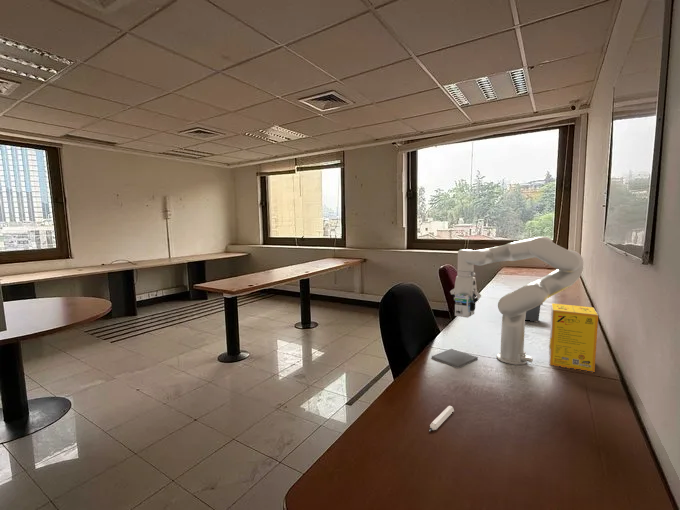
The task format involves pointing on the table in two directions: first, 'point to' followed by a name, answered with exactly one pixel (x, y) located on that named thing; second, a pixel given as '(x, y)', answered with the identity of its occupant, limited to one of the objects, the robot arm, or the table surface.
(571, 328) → the packaging box
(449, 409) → the marker
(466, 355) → the mat
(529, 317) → the storage bin
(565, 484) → the table surface
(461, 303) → the light bulb box
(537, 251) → the robot arm
